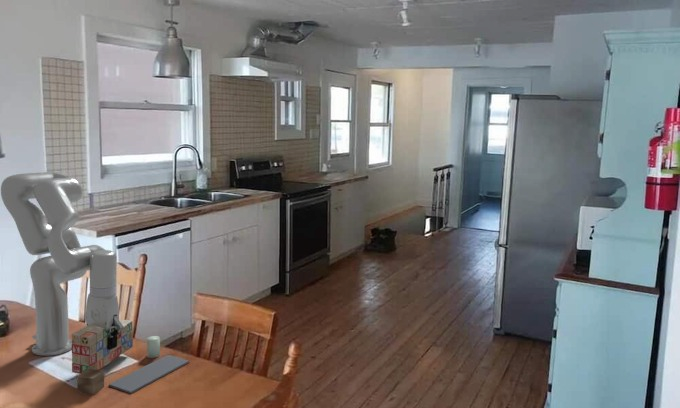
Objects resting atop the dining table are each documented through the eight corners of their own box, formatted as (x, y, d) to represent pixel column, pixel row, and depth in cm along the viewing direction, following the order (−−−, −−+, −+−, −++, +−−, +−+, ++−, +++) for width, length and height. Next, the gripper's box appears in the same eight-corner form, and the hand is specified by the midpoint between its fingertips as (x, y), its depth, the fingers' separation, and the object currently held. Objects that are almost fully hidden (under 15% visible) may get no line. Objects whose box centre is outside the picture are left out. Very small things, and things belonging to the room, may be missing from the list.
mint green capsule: (144, 356, 180) (144, 339, 179) (153, 352, 184) (153, 335, 183) (153, 359, 178) (153, 341, 178) (162, 354, 182) (162, 337, 181)
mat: (108, 386, 160) (108, 384, 160) (168, 356, 181) (168, 354, 181) (131, 393, 156) (131, 391, 156) (189, 362, 177) (189, 360, 177)
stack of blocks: (116, 344, 183) (116, 309, 181) (133, 347, 181) (133, 312, 179) (71, 372, 162) (71, 333, 160) (89, 376, 161) (89, 336, 159)
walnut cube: (77, 392, 155) (77, 376, 155) (89, 384, 160) (88, 368, 159) (93, 395, 154) (92, 378, 154) (104, 387, 159) (103, 370, 158)
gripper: (73, 288, 168) (73, 342, 171) (113, 299, 161) (113, 356, 164) (93, 282, 175) (94, 334, 178) (133, 293, 167) (133, 347, 170)
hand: (103, 344), depth 171 cm, fingers closed on stack of blocks, 7 cm apart
